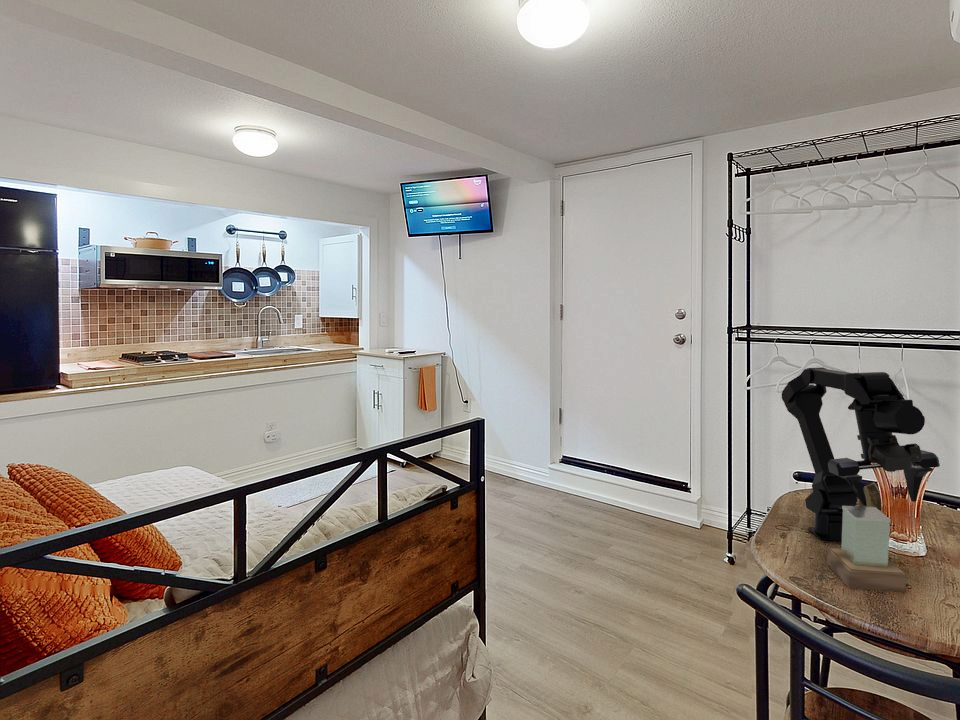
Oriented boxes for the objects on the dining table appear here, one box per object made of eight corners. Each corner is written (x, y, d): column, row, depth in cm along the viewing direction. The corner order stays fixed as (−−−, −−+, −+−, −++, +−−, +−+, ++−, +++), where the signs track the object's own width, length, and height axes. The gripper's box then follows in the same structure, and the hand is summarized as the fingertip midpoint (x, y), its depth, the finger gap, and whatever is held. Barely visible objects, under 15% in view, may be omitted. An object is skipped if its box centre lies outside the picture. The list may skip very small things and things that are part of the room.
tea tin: (840, 551, 115) (842, 505, 113) (873, 553, 113) (875, 507, 112) (853, 565, 109) (855, 517, 108) (888, 567, 107) (890, 519, 106)
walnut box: (826, 565, 117) (827, 547, 117) (878, 568, 115) (879, 549, 115) (848, 590, 107) (849, 570, 107) (905, 593, 105) (906, 573, 105)
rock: (847, 496, 148) (844, 503, 140) (872, 475, 145) (870, 481, 137) (885, 527, 143) (884, 536, 135) (911, 506, 140) (912, 514, 132)
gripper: (842, 440, 108) (857, 517, 107) (948, 428, 104) (965, 508, 103) (821, 434, 119) (834, 504, 118) (916, 423, 115) (930, 495, 114)
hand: (889, 503), depth 113 cm, fingers open, 9 cm apart
